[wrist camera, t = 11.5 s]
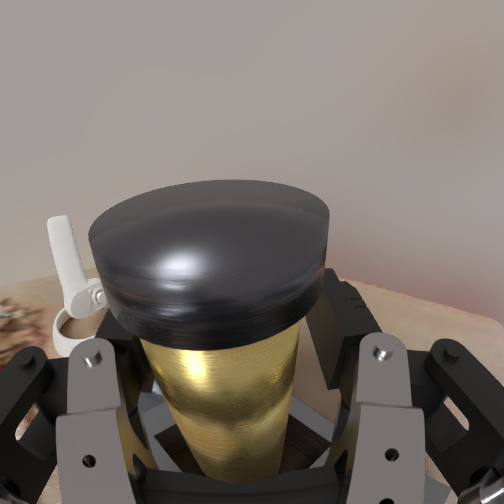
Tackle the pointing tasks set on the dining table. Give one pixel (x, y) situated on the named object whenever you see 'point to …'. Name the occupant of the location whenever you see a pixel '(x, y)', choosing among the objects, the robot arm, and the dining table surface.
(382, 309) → the dining table surface
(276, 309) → the pin
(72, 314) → the white vr controller
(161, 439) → the grey plate with studs
